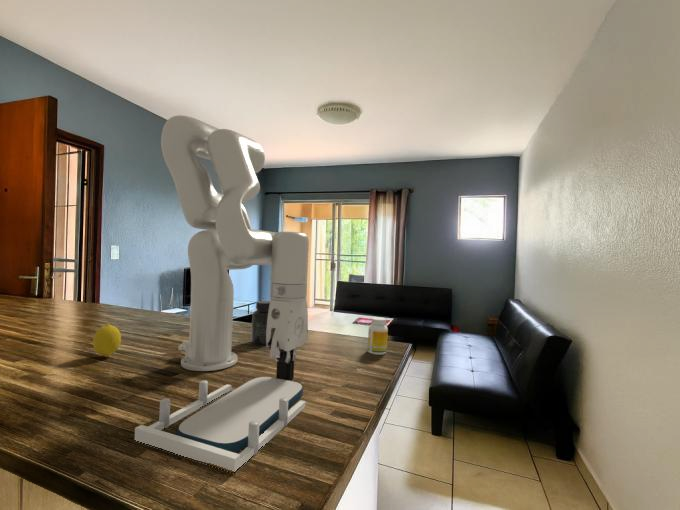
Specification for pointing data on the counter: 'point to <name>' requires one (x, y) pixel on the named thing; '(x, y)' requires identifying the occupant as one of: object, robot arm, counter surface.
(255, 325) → the supplement bottle
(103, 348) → the lemon
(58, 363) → the counter surface
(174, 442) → the dock
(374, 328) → the supplement bottle
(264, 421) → the white blue rounded slab
